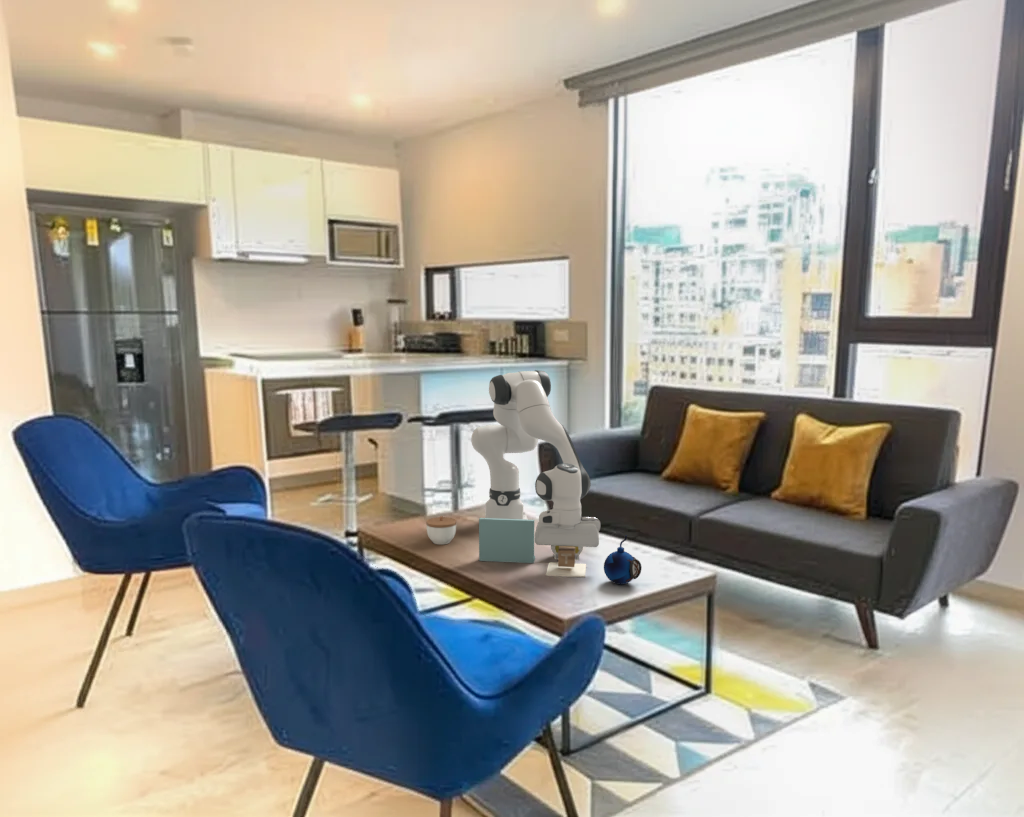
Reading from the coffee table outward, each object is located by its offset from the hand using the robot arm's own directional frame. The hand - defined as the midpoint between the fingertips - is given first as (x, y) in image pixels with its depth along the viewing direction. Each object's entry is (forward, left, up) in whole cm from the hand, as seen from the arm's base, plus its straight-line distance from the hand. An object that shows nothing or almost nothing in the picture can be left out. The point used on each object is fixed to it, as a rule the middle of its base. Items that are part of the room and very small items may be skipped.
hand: (566, 559), depth 231 cm
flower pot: (-15, -1, -4) cm, 16 cm away
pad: (0, 0, -4) cm, 4 cm away
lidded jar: (-25, -46, -4) cm, 52 cm away
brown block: (0, 0, -2) cm, 2 cm away
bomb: (+10, +17, -4) cm, 20 cm away
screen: (-8, -20, -4) cm, 22 cm away
